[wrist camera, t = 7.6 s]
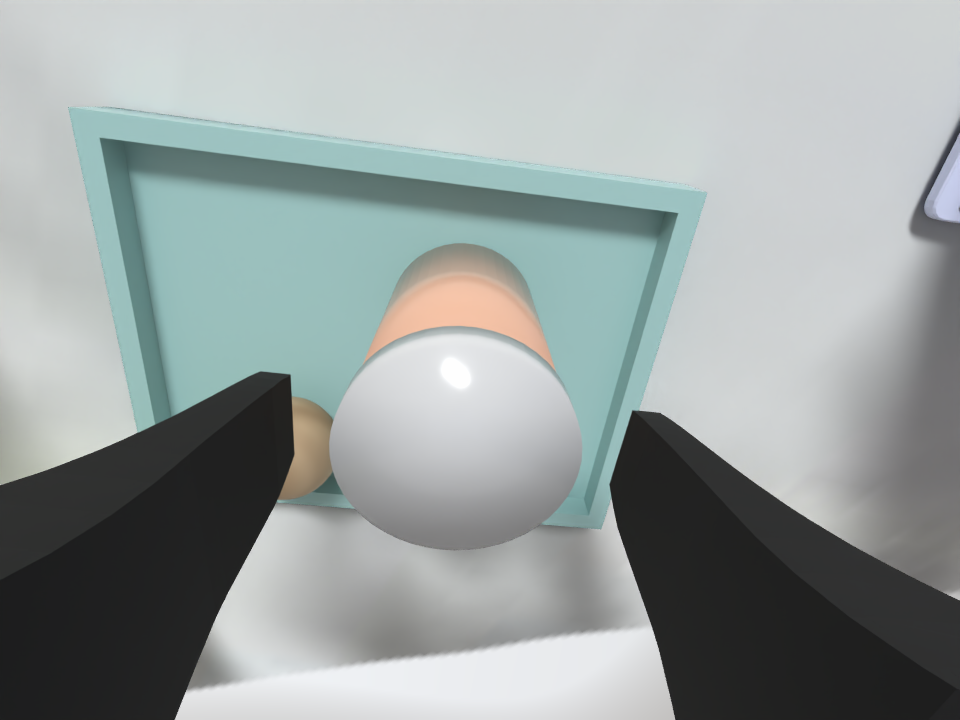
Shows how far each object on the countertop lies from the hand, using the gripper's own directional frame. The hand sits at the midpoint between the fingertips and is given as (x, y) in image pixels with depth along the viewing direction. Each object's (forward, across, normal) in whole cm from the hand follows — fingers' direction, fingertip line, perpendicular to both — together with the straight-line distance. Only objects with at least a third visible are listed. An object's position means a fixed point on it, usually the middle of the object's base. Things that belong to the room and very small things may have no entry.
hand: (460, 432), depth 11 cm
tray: (+6, +2, +1) cm, 7 cm away
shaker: (+6, 0, 0) cm, 6 cm away
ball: (+6, +5, +4) cm, 9 cm away
